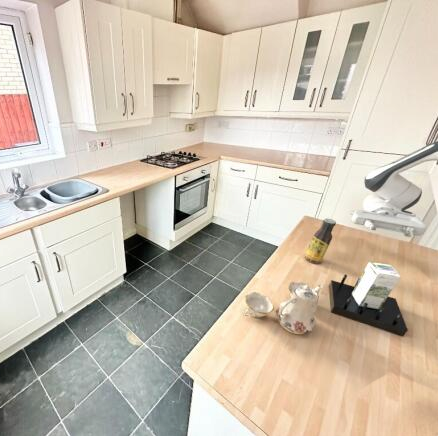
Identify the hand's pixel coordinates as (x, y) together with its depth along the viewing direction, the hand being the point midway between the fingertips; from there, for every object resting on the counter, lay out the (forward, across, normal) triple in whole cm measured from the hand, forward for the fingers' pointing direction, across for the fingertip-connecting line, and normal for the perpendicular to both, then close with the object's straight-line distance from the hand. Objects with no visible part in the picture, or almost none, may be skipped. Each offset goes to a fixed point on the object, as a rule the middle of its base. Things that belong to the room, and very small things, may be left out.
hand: (390, 231), depth 85 cm
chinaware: (+36, -26, +21) cm, 49 cm away
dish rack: (+20, -4, +21) cm, 29 cm away
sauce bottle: (-2, -18, +21) cm, 28 cm away
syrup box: (+20, -4, +18) cm, 27 cm away
